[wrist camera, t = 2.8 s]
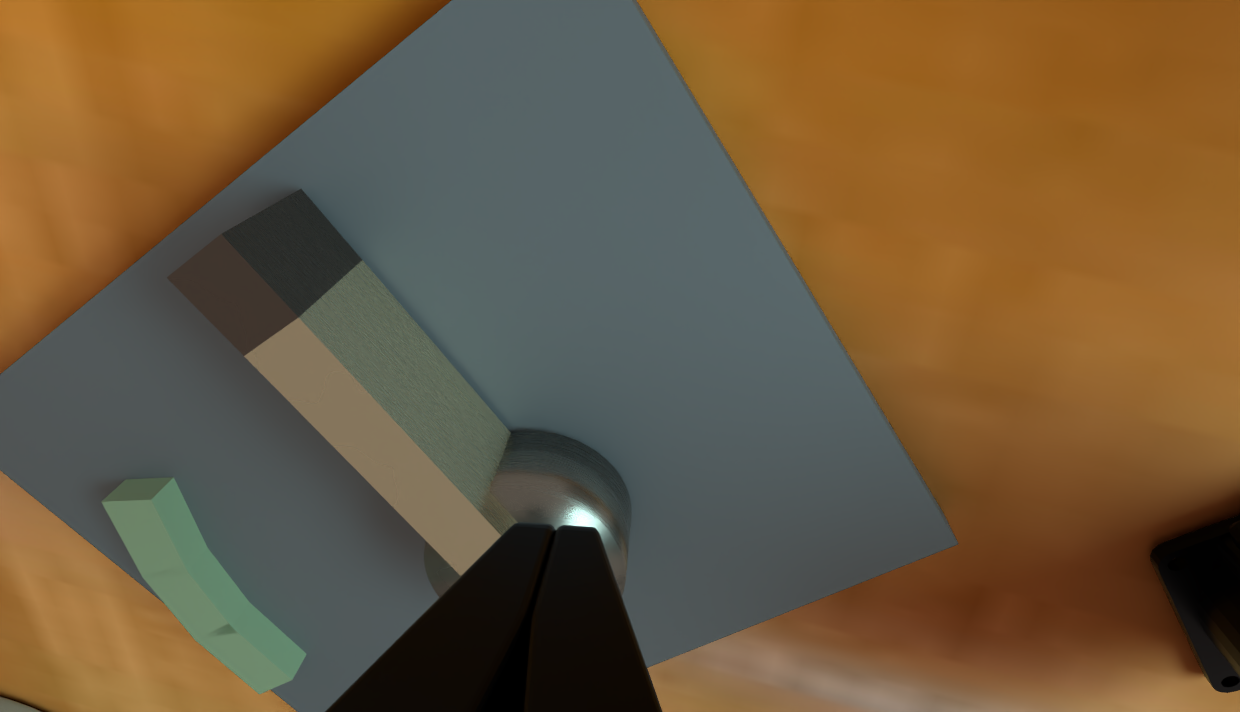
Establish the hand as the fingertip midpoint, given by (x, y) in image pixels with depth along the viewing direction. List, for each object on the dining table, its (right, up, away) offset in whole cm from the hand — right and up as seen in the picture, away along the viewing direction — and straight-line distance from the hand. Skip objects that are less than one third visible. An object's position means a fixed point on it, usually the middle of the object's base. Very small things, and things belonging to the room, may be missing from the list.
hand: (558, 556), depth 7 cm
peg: (-4, +1, +11) cm, 12 cm away
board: (-4, -1, +14) cm, 14 cm away
